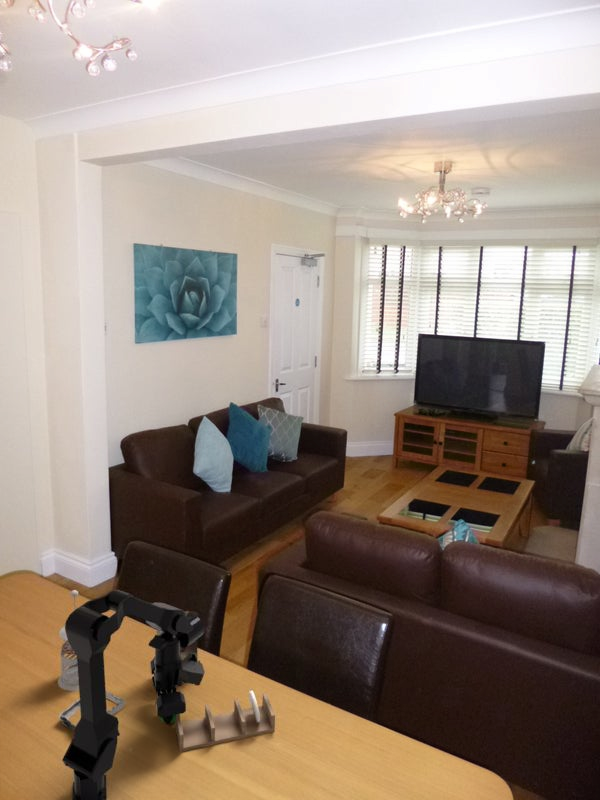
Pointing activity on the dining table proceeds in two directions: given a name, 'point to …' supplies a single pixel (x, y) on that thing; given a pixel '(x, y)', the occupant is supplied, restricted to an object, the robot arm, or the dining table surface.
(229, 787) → the dining table surface
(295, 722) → the dining table surface
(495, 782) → the dining table surface
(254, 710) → the saucer
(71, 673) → the french press
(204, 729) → the rack
